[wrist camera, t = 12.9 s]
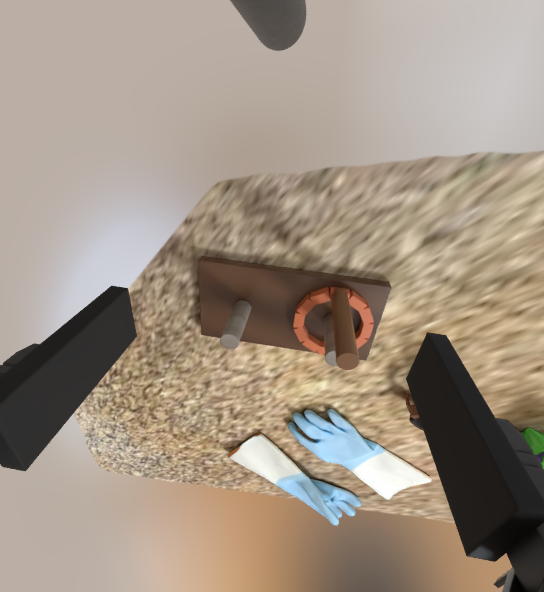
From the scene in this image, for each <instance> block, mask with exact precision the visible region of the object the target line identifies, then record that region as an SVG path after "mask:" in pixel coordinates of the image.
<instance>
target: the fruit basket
mask: <svg viewBox="0 0 544 592" xmlns="http://www.w3.org/2000/svg"><path fill="white" fill-rule="evenodd" d="M521 434H522V435H523V436H524V438H525V439H526V441H527V442H528V444H529V445H530V447H531V448H532V450H533V451H534V452H533V454H534V455H536V456H537V458H538V459H539V461H540V462H541V464H542V468H543V469H544V434H542V433H539V432H537V431H536V430H534V429H532V428H527V429H526V430H525V431H523V432H521Z"/></svg>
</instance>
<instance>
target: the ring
mask: <svg viewBox="0 0 544 592" xmlns="http://www.w3.org/2000/svg"><path fill="white" fill-rule="evenodd" d="M327 301H331V303H332V316H333V329H334V342H335V354H336V363H337V365H338V366H339V367H340V368H342V369H345V370H351V369H354V368H356V367H357V366H358V364H359V355H358V348H360V347H361V346H362V345H363V344H364V343H366V342H367V341H368V339H367V338H370V335H371V332H372V329H373V326H374V323H373V322H374V320H373V316H372V314H371V311H370V308H369V305H368V303H366V300H365V299H363V298H362V297H361V296H359V295H358V294H356V293H355V292H354V291H351V292H350V291H349V289H344V288H337V287H331V288H330V291H329V289H328V287H326V288H323V289H320V290H317V291H314V292H311V294H310V295H309V294H307V296H306V297H305V298H304V299H303V300H302V301H301V302H300V303H299V304H298V305H297V308H296V310H295V317H294V323H293V327H294V331H295V333H296V335H297V337H298V339H299V341H300V342H302V345H304V346H306V347H307V348H309V349H310V350H312V351H313V352H316V351H317V353H318V354H324V355H325V344H324V341H319V340H318V339H316V338H315V337H313V336H312V335H310V334H309V333H308V331H307V329H306V327H305V325H304V319H305V315H306V314H307V313H308V312H309V311H310V310H311V309H312V308H313V307H314V306H315V305H317V304H321V303H324V302H327ZM350 306H352V307H353V308H355V309H356V310H357V311H359V313H360V316H361V319H362V321H361V324H360V328H359V331H357V332H356V333H355V332H354V327H353V321H352V315H351V309H350Z"/></svg>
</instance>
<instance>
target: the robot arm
mask: <svg viewBox="0 0 544 592" xmlns="http://www.w3.org/2000/svg"><path fill="white" fill-rule="evenodd" d="M136 337H137V334H136V329H135V324H134V318H133V313H132V308H131V302H130V297H129V292H128V288H123V287H116V286H111V287H109V288H108V289H107V290H106V291H105V292H103V293H102V294H101V295H100V296H98V297H97V298H96V299H95V300H94V301H92V302H91V303H90V304H89V305H88V306H86V307H85V308H84V309H83V310H81V311H80V312H79V313H78V314H76V315H75V316H74V317H73V318H72V319H71V320H69V321H68V322H67V323H66V324H64V325H63V326H62V327H61V328H59V329H58V330H57V331H56V332H55V333H53V334H52V335H51V336H50V337H48V338H47V339H46V340H45V341H43V342H42V343H41V344H32V345H30V346H28V347H26V348H24V349H22V350H20V351H18V352H16V353H15V354H14V355H13V356H11V357H10V358H9V359H8V360H6V361H5V362H4V363H3V365H0V464H1V466H3V467H6V468H11V469H16V470H21V471H26V470H27V469H28V468H29V467H30V465H31V464H32V463H33V462H34V460H35V459H36V458H37V457H38V456H39V454H40V453H41V452H42V451H43V450H44V448H45V447H46V446H47V445H48V443H49V442H50V441H51V440H52V439H53V437H54V436H55V435H56V434H57V433H58V431H59V430H60V429H61V428H62V426H63V425H64V424H65V423H66V421H67V420H68V419H69V418H70V417H71V416H72V414H73V413H74V412H75V411H76V409H77V408H78V407H79V406H80V405H81V403H82V402H83V401H84V400H85V399H86V397H87V396H88V395H89V394H90V392H91V391H92V390H93V389H94V388H95V386H96V385H97V384H98V383H99V382H100V380H101V379H102V378H103V377H104V375H105V374H106V373H107V372H108V371H109V369H110V368H111V367H112V366H113V365H114V363H115V362H116V361H117V360H118V358H119V357H120V356H121V355H122V354H123V352H124V351H125V350H126V349H127V348H128V346H129V345H130V344H131V343H132V341H133V340H134V339H135V338H136ZM406 380H407V383H408V386H409V389H410V392H411V395H412V398H413V401H414V403H415V406H416V409H417V412H418V415H419V418H420V421H421V424H422V427H423V430H424V433H425V436H426V439H427V442H428V444H429V447H430V450H431V453H432V456H433V459H434V462H435V465H436V468H437V471H438V474H439V477H440V480H441V483H442V485H443V488H444V491H445V494H446V497H447V500H448V503H449V506H450V509H451V512H452V515H453V518H454V521H455V524H456V526H457V529H458V532H459V535H460V538H461V541H462V544H463V547H464V550H465V553H466V556H469V557H473V558H479V559H483V560H489V561H494V562H495V561H497V560H498V559H499V558H500V557H501V556H503V555H504V554H505V553H507V555H508V558H509V560H510V562H511V565H512V567H513V568H511V569H510V570H509V571H507V572H506V573H505V574H503V575H502V576H501V577H499V578H498V579H497V580H496V582H495V583H494V585H495V586H496V587H498V588H499V587H501V586H502V585H504V588H503V591H502V592H544V469H543V468H542V464H541V462H540V461H539V459H538V458H537V456H536V455H534V454H533V452H534V451H533V450H532V448H531V447H530V445H529V444H528V442H527V441H526V439H525V438H524V436H523V435H522V434H521V433H520V432H519V431H518V430H517V429H516V428H515V427H514V426H513V425H512V424H511V423H510V422H509V421H508V420H504V419H498V418H495V417H494V415H493V414H492V412H491V410H490V408H489V407H488V405H487V403H486V402H485V400H484V398H483V397H482V395H481V393H480V392H479V390H478V388H477V387H476V385H475V383H474V382H473V380H472V378H471V376H470V375H469V373H468V371H467V370H466V368H465V366H464V365H463V363H462V361H461V360H460V358H459V356H458V355H457V353H456V351H455V349H454V348H453V346H452V344H451V343H450V341H449V339H448V338H447V336H446V335H441V334H434V333H428V332H427V334H426V337H425V339H424V341H423V343H422V345H421V347H420V350H419V352H418V354H417V356H416V358H415V360H414V363H413V365H412V367H411V369H410V371H409V374H408V376H407V378H406Z"/></svg>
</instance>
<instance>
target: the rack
mask: <svg viewBox="0 0 544 592" xmlns="http://www.w3.org/2000/svg"><path fill="white" fill-rule="evenodd" d="M198 267H199V291H200V315H201V335H206V336H212V337H218V338H220V342H221V344H222V346H223V347H225V348H227V349H235V348H237V347H238V345H239V343H240V341H244V342H251V343H257V344H263V345H270V346H276V347H283V348H289V349H295V350H302V351H308V352H313V351H312V350H310V349H309V348H307V347H306V346H304V345H302V342H300V341H299V339H298V337H297V335H296V333H295V331H294V327H293V323H294V317H295V310H296V308H297V305H298V304H299V303H300V302H301V301H302V300H303V299H304V298H305V297H306V296H307V294H309V295H310V294H311V292H314V291H317V290H320V289H323V288H326V287H328V289H329V291H330V288H331V287H337V288H344V289H349V291H350V292H351V291H354V292H355V293H356V294H358V295H359V296H361V297H362V298H363V299H365V300H366V303H368V305H369V308H370V311H371V314H372V316H373V320H374V322H373V323H374V326H373V329H372V332H371V335H370V338H367V339H368V341H367V342H366V343H364V344H363V345H362V346H361V347H360V348H358V355H359V359H360V360H367V357H368V354H369V351H370V348H371V345H372V343H373V340H374V337H375V334H376V331H377V328H378V325H379V322H380V319H381V317H382V314H383V311H384V308H385V305H386V302H387V299H388V296H389V293H390V290H391V285H390V283H389V282H384V281H377V280H370V279H363V278H356V277H348V276H341V275H334V274H327V273H320V272H312V271H305V270H298V269H291V268H283V267H276V266H269V265H262V264H255V263H247V262H240V261H233V260H226V259H219V258H211V257H204V256H201V258H200V259H199V260H198ZM350 309H351V315H352V321H353V327H354V332H355V333H356V332H357V331H359V328H360V324H361V321H362V319H361V316H360V313H359V311H357V310H356V309H355V308H353V307H352V306H350ZM304 325H305V327H306V329H307V331H308V333H309V334H310V335H312V336H313V337H315V338H316V339H318V340H319V341H324V344H325V360H326V362H327V363H328V364H330V365H333V366H338V365H337V363H336V354H335V342H334V329H333V316H332V303H331V301H327V302H324V303H321V304H317V305H315V306H314V307H313V308H312V309H311V310H310V311H309V312H308V313H307V314H306V315H305V319H304ZM315 353H317V351H316V352H315Z"/></svg>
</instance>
